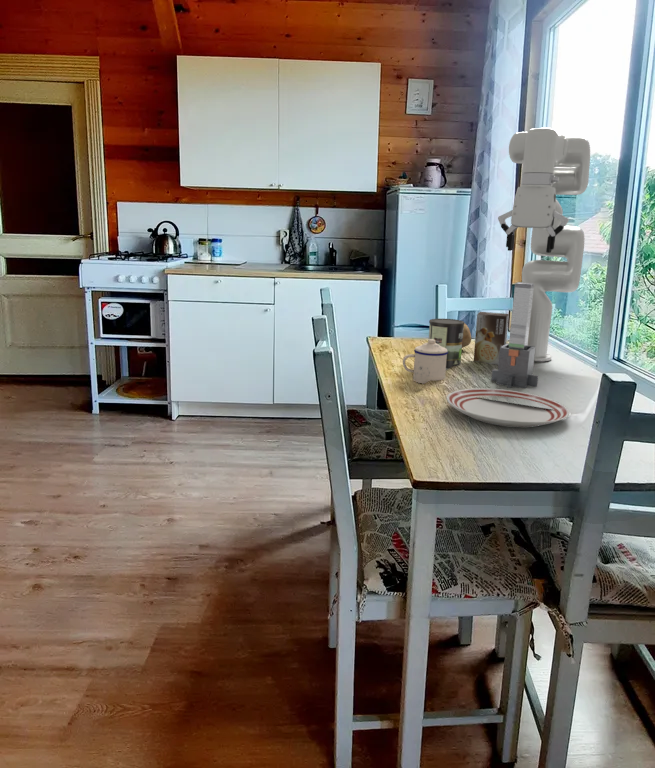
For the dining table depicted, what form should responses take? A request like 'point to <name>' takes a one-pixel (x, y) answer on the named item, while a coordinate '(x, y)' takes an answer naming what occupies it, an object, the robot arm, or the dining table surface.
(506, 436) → the dining table surface
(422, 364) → the teacup with lid
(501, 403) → the dinner plate
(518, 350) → the stand base
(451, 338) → the coffee can
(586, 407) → the dining table surface
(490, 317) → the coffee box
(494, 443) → the dining table surface
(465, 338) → the natural sponge
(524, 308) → the column
